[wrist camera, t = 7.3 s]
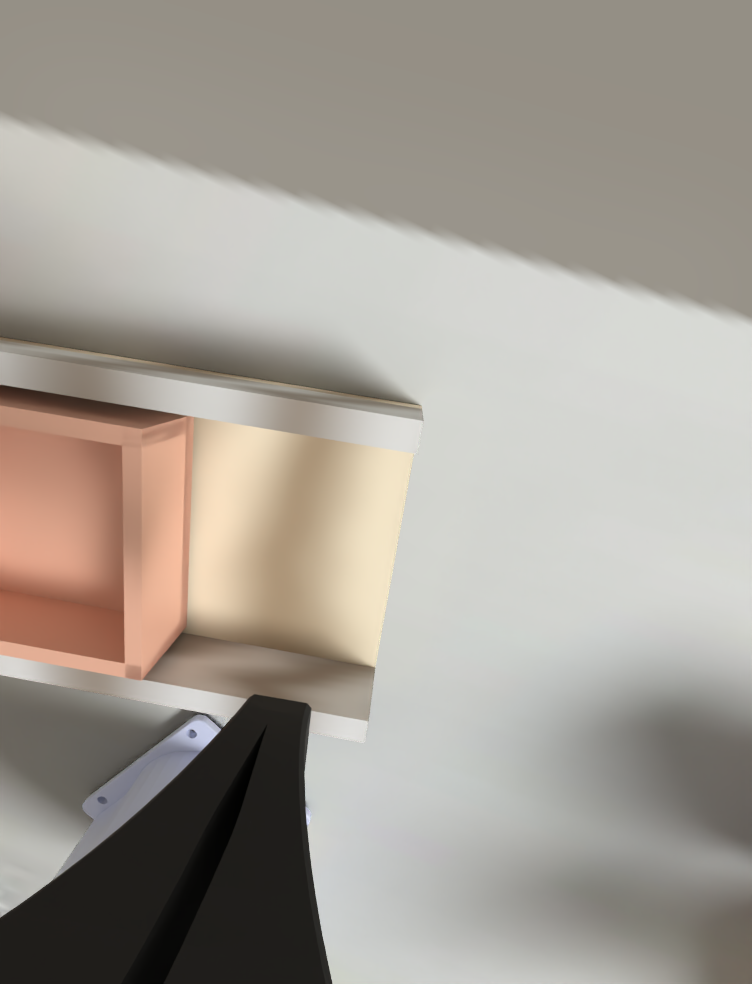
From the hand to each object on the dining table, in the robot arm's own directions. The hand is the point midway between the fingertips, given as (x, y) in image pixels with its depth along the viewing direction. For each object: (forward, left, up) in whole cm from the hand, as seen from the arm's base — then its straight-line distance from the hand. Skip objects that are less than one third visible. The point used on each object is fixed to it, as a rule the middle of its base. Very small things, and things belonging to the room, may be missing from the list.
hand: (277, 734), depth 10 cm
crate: (-7, +9, -8) cm, 14 cm away
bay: (-4, +6, -9) cm, 12 cm away
